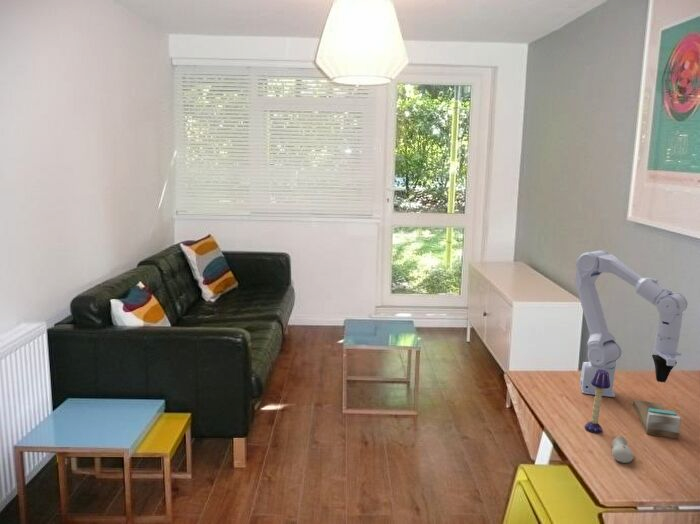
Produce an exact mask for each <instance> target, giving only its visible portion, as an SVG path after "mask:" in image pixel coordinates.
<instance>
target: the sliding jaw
mask: <svg viewBox="0 0 700 524" xmlns="http://www.w3.org/2000/svg"><path fill="white" fill-rule="evenodd" d="M648 412H652V413H659V414H666V415H674V416H678V414H677V412H676V411H672V410H667V409H665V410H660V409H652V408H648ZM647 416H648V415H647Z"/></svg>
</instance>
